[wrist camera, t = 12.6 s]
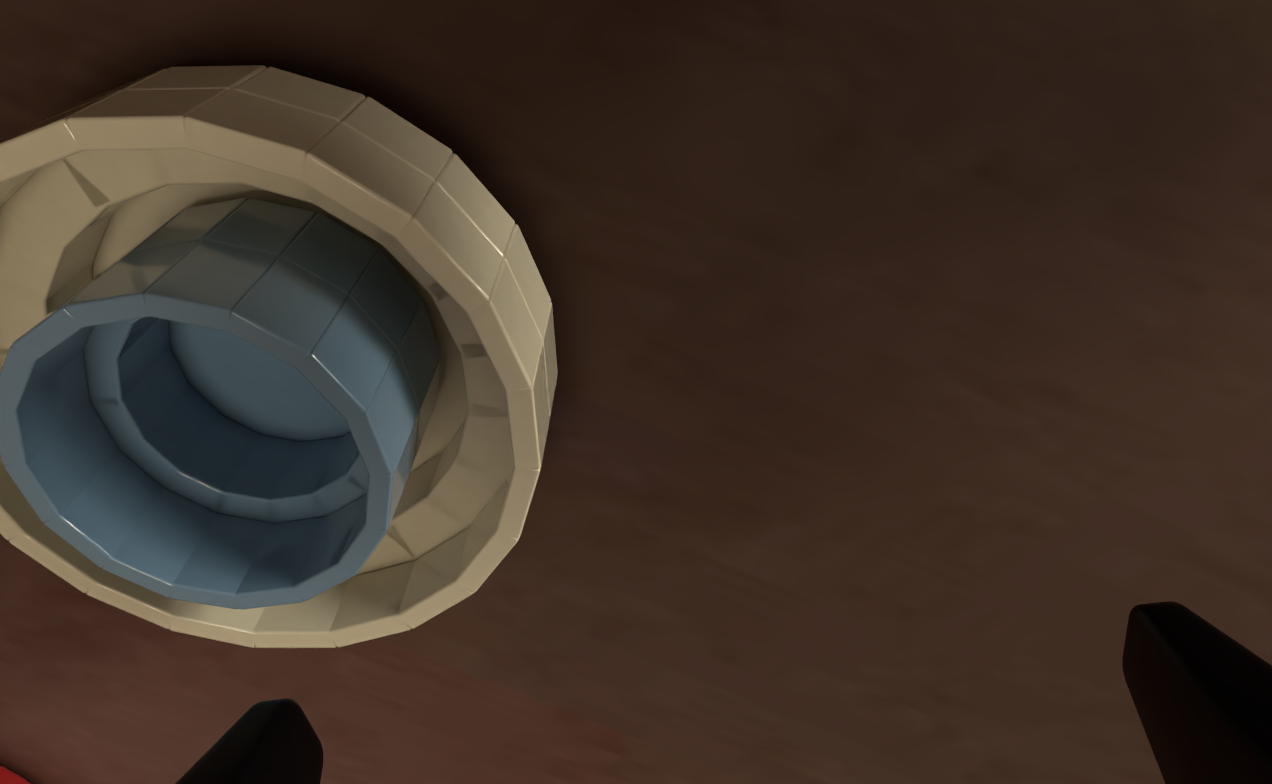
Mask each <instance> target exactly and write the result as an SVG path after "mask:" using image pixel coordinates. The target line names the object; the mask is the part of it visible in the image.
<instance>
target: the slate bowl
mask: <svg viewBox="0 0 1272 784" xmlns="http://www.w3.org/2000/svg"><path fill="white" fill-rule="evenodd" d="M440 364H441V352H440V349H439V346H438V343H437V340H436V337H435V334H434V331H433V328H432V325H431V322H430V319H429V317H428V314H427V311H426V308H425V305H424V302H423V300H422V299H421V297H420V296H419V294H418V293H417V292H416V291H415V290H414V289H413V287H412V286H411V285H410V284H409V283H408V281H407V280H406V279H405V278H404V277H403V276H402V274H401V273H400V272H399V271H398V270H397V268H396V267H395V266H394V265H393V264H392V263H391V261H390V260H389V259H388V258H387V257H386V255H385V254H384V253H383V252H382V251H381V250H380V249H379V250H378V248H377V247H376V246H374V245H373V244H371V243H369V242H368V241H366V240H364V239H363V238H361V237H359V236H358V235H356V234H354V233H353V232H351V231H349V230H348V229H346V228H344V227H342V226H341V225H339V224H337V223H336V222H334V221H332V220H331V219H329V218H327V217H326V216H324V215H322V214H321V213H316V212H315V211H311V210H306V209H301V208H297V207H292V206H287V205H282V204H277V203H272V202H268V201H263V200H258V199H253V198H249V199H246V198H242V199H236V200H230V201H225V202H219V203H213V204H208V205H202V206H196V207H190V208H186V209H183V210H181V211H179V212H178V213H177V214H175V215H174V216H173V217H171V218H170V219H169V220H167V221H166V222H164V223H163V224H162V225H160V226H159V227H158V228H156V229H155V230H154V231H152V232H151V233H150V234H148V235H147V236H146V237H144V238H143V239H142V240H140V241H139V242H138V243H136V244H135V245H134V246H133V247H131V248H130V249H129V250H128V251H126V252H125V253H124V254H123V255H121V256H120V257H119V258H118V259H116V260H115V261H114V262H113V263H111V264H110V265H109V266H108V267H106V268H105V269H104V270H103V271H101V272H100V273H99V274H98V275H97V276H95V277H94V278H93V279H92V280H90V281H89V282H88V283H87V284H85V285H84V286H83V287H82V288H80V289H79V290H78V291H77V292H75V293H74V294H73V295H72V296H70V297H69V298H68V299H67V300H65V301H64V302H63V303H62V304H60V305H59V306H58V307H57V308H55V309H54V310H53V311H52V312H50V313H49V314H48V315H47V316H45V317H44V318H43V319H42V320H40V321H39V322H38V323H37V324H35V325H34V326H33V327H32V328H30V329H29V330H28V331H27V332H25V333H24V334H23V335H22V336H20V337H19V338H18V339H17V340H15V341H14V342H13V343H12V345H11V346H10V348H9V350H8V353H7V356H6V359H5V361H4V364H3V367H2V370H1V372H0V456H1V461H2V464H4V468H5V470H6V471H7V472H8V474H9V475H10V477H11V478H12V480H13V481H14V483H15V484H16V485H17V487H18V488H19V490H20V491H21V493H22V494H23V496H24V497H25V499H26V500H27V501H28V503H29V504H30V506H31V507H32V509H33V510H34V512H35V513H36V514H37V516H38V517H39V519H40V520H41V521H42V522H44V525H46V526H47V527H48V528H50V529H51V530H52V531H53V532H55V533H56V534H57V535H59V536H60V537H61V538H62V539H64V540H65V541H66V542H67V543H69V544H70V545H71V546H73V547H74V548H75V549H76V550H78V551H79V552H80V553H81V554H83V555H84V556H85V557H87V558H88V559H89V560H90V561H92V562H93V563H94V564H95V565H97V566H98V567H100V568H102V569H103V570H105V571H107V572H110V573H112V574H114V575H116V576H119V577H121V578H123V579H126V580H128V581H130V582H132V583H135V584H137V585H139V586H142V587H144V588H146V589H149V590H151V591H153V592H155V593H158V594H160V595H162V596H165V597H167V598H169V597H170V598H171V599H175V600H181V601H188V602H194V603H200V604H206V605H212V606H218V607H224V608H231V609H241V610H243V609H252V608H260V607H268V606H276V605H285V604H293V603H301V602H303V601H307V600H309V599H311V598H313V597H315V596H317V595H319V594H321V593H323V592H325V591H326V590H328V589H330V588H332V587H334V586H336V585H338V584H340V583H342V582H344V581H346V580H348V579H350V578H352V577H353V576H355V574H357V573H358V572H359V571H360V569H361V568H362V566H363V565H364V564H365V562H366V561H367V559H368V558H369V557H370V555H371V554H372V553H373V551H374V550H375V548H376V547H377V546H378V544H379V543H380V541H381V540H382V539H383V537H384V536H385V535H386V533H387V531H388V528H389V526H390V523H391V520H392V518H393V515H394V513H395V510H396V507H397V505H398V502H399V500H400V497H401V494H402V492H403V489H404V486H405V484H406V481H407V479H408V476H409V473H410V471H411V468H412V465H413V463H414V459H415V457H416V455H417V452H418V450H419V447H420V444H421V442H422V439H423V436H424V434H425V431H426V429H427V426H428V423H429V421H430V418H431V416H432V413H433V410H434V408H435V405H436V398H437V390H438V381H439V373H440Z"/></svg>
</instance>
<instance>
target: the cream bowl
mask: <svg viewBox="0 0 1272 784" xmlns="http://www.w3.org/2000/svg"><path fill="white" fill-rule="evenodd" d="M242 198H246V199H249V198H253V199H258V200H263V201H268V202H272V203H277V204H282V205H287V206H292V207H297V208H301V209H306V210H311V211H315V212H316V213H321V214H322V215H324V216H326V217H327V218H329V219H331V220H332V221H334V222H336V223H337V224H339V225H341V226H342V227H344V228H346V229H348V230H349V231H351V232H353V233H354V234H356V235H358V236H359V237H361V238H363V239H364V240H366V241H368V242H369V243H371V244H373V245H374V246H376V247H377V248H378V250H379V249H380V250H381V251H382V252H383V253H384V254H385V255H386V257H387V258H388V259H389V260H390V261H391V263H392V264H393V265H394V266H395V267H396V268H397V270H398V271H399V272H400V273H401V274H402V276H403V277H404V278H405V279H406V280H407V281H408V283H409V284H410V285H411V286H412V287H413V289H414V290H415V291H416V292H417V293H418V294H419V296H420V297H421V299H422V300H423V302H424V305H425V308H426V311H427V314H428V317H429V319H430V322H431V325H432V328H433V331H434V334H435V337H436V340H437V343H438V346H439V349H440V352H441V364H440V373H439V381H438V390H437V398H436V405H435V408H434V410H433V413H432V416H431V418H430V421H429V423H428V426H427V429H426V431H425V434H424V436H423V439H422V442H421V444H420V447H419V450H418V452H417V455H416V457H415V459H414V463H413V465H412V468H411V471H410V473H409V476H408V479H407V481H406V484H405V486H404V489H403V492H402V494H401V497H400V500H399V502H398V505H397V507H396V510H395V513H394V515H393V518H392V520H391V523H390V526H389V528H388V531H387V533H386V535H385V536H384V537H383V539H382V540H381V541H380V543H379V544H378V546H377V547H376V548H375V550H374V551H373V553H372V554H371V555H370V557H369V558H368V559H367V561H366V562H365V564H364V565H363V566H362V568H361V569H360V571H359V572H358V573H357V574H355V576H353V577H352V578H350V579H348V580H346V581H344V582H342V583H340V584H338V585H336V586H334V587H332V588H330V589H328V590H326V591H325V592H323V593H321V594H319V595H317V596H315V597H313V598H311V599H309V600H307V601H303V602H301V603H293V604H285V605H276V606H268V607H260V608H252V609H243V610H241V609H231V608H224V607H218V606H212V605H206V604H200V603H194V602H188V601H181V600H175V599H171V598H170V597H169V598H167V597H165V596H162V595H160V594H158V593H155V592H153V591H151V590H149V589H146V588H144V587H142V586H139V585H137V584H135V583H132V582H130V581H128V580H126V579H123V578H121V577H119V576H116V575H114V574H112V573H110V572H107V571H105V570H103V569H102V568H100V567H98V566H97V565H95V564H94V563H93V562H92V561H90V560H89V559H88V558H87V557H85V556H84V555H83V554H81V553H80V552H79V551H78V550H76V549H75V548H74V547H73V546H71V545H70V544H69V543H67V542H66V541H65V540H64V539H62V538H61V537H60V536H59V535H57V534H56V533H55V532H53V531H52V530H51V529H50V528H48V527H47V526H46V525H44V522H42V521H41V520H40V519H39V517H38V516H37V514H36V513H35V512H34V510H33V509H32V507H31V506H30V504H29V503H28V501H27V500H26V499H25V497H24V496H23V494H22V493H21V491H20V490H19V488H18V487H17V485H16V484H15V483H14V481H13V480H12V478H11V477H10V475H9V474H8V472H7V471H6V470H5V468H4V464H2V461H1V456H0V534H1V535H2V536H3V537H4V538H5V539H6V540H9V542H10V543H11V544H12V545H13V546H15V547H16V548H18V549H19V550H21V551H22V552H24V553H25V554H27V555H28V556H30V557H31V558H33V559H34V560H35V561H37V562H38V563H40V564H41V565H43V566H44V567H46V568H47V569H49V570H50V571H52V572H53V573H55V574H56V575H57V576H59V577H60V578H62V579H63V580H65V581H66V582H68V583H69V584H71V585H72V586H74V587H75V588H77V589H78V590H80V591H81V592H83V593H86V594H87V595H88V596H90V597H93V598H95V599H97V600H100V601H102V602H104V603H107V604H109V605H112V606H114V607H116V608H119V609H121V610H123V611H126V612H128V613H130V614H133V615H135V616H137V617H140V618H142V619H144V620H147V621H149V622H152V623H154V624H156V625H159V626H161V627H163V628H166V629H169V628H170V630H171V631H175V632H180V633H184V634H189V635H194V636H199V637H203V638H208V639H213V640H218V641H222V642H227V643H232V644H237V645H241V646H246V647H251V648H254V647H256V648H336V647H343V646H347V645H351V644H355V643H359V642H363V641H368V640H372V639H376V638H380V637H384V636H388V635H392V634H396V633H400V632H404V631H409V630H410V629H414V628H415V627H417V626H419V625H421V624H422V623H424V622H426V621H427V620H429V619H431V618H433V617H434V616H436V615H438V614H439V613H441V612H443V611H445V610H446V609H448V608H450V607H452V606H453V605H455V604H457V603H458V602H460V601H462V600H464V599H465V598H467V597H469V596H470V595H472V594H473V593H475V592H476V591H477V590H478V588H479V587H480V586H481V585H482V584H483V582H484V581H485V580H486V579H487V578H488V576H489V575H490V574H491V573H492V572H493V570H494V569H495V568H496V567H497V566H498V564H499V563H500V562H501V561H502V560H503V558H504V557H505V556H506V555H507V554H508V552H509V551H510V550H511V549H512V548H513V546H514V545H515V544H516V543H517V542H518V540H519V537H520V536H521V533H522V530H523V527H524V523H525V520H526V517H527V513H528V510H529V507H530V504H531V500H532V497H533V494H534V491H535V487H536V484H537V481H538V478H539V474H540V471H541V465H542V460H543V454H544V449H545V443H546V438H547V432H548V427H549V420H550V415H551V410H552V404H553V399H554V393H555V388H556V382H557V375H558V372H557V360H556V347H555V335H554V322H553V310H552V303H551V298H550V296H549V294H548V292H547V289H546V287H545V285H544V283H543V280H542V278H541V276H540V273H539V271H538V269H537V267H536V264H535V262H534V260H533V258H532V255H531V253H530V251H529V249H528V246H527V244H526V242H525V240H524V237H523V235H522V233H521V230H520V228H519V226H518V225H517V224H515V221H514V220H513V219H512V218H511V216H510V215H509V214H508V213H507V212H506V211H505V210H504V208H503V207H502V206H501V205H500V204H499V203H498V202H497V200H496V199H495V198H494V197H493V196H492V195H491V194H490V192H489V191H488V190H487V189H486V188H485V187H484V186H483V184H482V183H481V182H480V181H479V180H478V179H477V178H476V176H475V175H474V174H473V173H472V172H471V171H470V169H469V168H468V167H467V166H466V165H465V164H464V163H463V161H462V160H461V159H460V158H459V157H458V156H457V155H456V154H452V150H451V149H450V148H448V147H447V146H445V145H443V144H442V143H440V142H439V141H437V140H436V139H434V138H433V137H431V136H430V135H428V134H426V133H425V132H423V131H422V130H420V129H419V128H417V127H416V126H414V125H412V124H411V123H409V122H408V121H406V120H405V119H403V118H402V117H400V116H399V115H397V114H395V113H394V112H392V111H391V110H389V109H388V108H386V107H385V106H383V105H382V104H380V103H378V102H377V101H375V100H374V99H372V98H371V97H366V98H365V96H364V95H363V94H360V93H357V92H354V91H350V90H347V89H344V88H340V87H337V86H334V85H330V84H327V83H324V82H320V81H317V80H314V79H310V78H307V77H304V76H300V75H297V74H294V73H290V72H287V71H284V70H280V69H277V68H274V67H266V66H263V65H247V66H193V67H171V68H169V69H161V70H159V71H156V72H154V73H151V74H149V75H146V76H144V77H141V78H139V79H136V80H134V81H131V82H129V83H126V84H124V85H121V86H119V87H116V88H114V89H111V90H109V91H106V92H104V93H101V94H99V95H96V96H94V97H91V98H89V99H87V100H85V101H83V102H81V103H78V104H76V105H74V106H72V107H70V108H68V109H66V110H64V111H62V112H60V113H58V114H56V115H53V116H51V117H49V118H47V119H45V120H43V121H41V122H39V123H37V124H35V125H32V126H30V127H28V128H26V129H24V130H22V131H20V132H18V133H16V134H14V135H12V136H10V137H7V138H5V139H3V140H1V141H0V372H1V370H2V367H3V364H4V361H5V359H6V356H7V353H8V350H9V348H10V346H11V345H12V343H13V342H14V341H15V340H17V339H18V338H19V337H20V336H22V335H23V334H24V333H25V332H27V331H28V330H29V329H30V328H32V327H33V326H34V325H35V324H37V323H38V322H39V321H40V320H42V319H43V318H44V317H45V316H47V315H48V314H49V313H50V312H52V311H53V310H54V309H55V308H57V307H58V306H59V305H60V304H62V303H63V302H64V301H65V300H67V299H68V298H69V297H70V296H72V295H73V294H74V293H75V292H77V291H78V290H79V289H80V288H82V287H83V286H84V285H85V284H87V283H88V282H89V281H90V280H92V279H93V278H94V277H95V276H97V275H98V274H99V273H100V272H101V271H103V270H104V269H105V268H106V267H108V266H109V265H110V264H111V263H113V262H114V261H115V260H116V259H118V258H119V257H120V256H121V255H123V254H124V253H125V252H126V251H128V250H129V249H130V248H131V247H133V246H134V245H135V244H136V243H138V242H139V241H140V240H142V239H143V238H144V237H146V236H147V235H148V234H150V233H151V232H152V231H154V230H155V229H156V228H158V227H159V226H160V225H162V224H163V223H164V222H166V221H167V220H169V219H170V218H171V217H173V216H174V215H175V214H177V213H178V212H179V211H181V210H183V209H186V208H190V207H196V206H202V205H208V204H213V203H219V202H225V201H230V200H236V199H242Z"/></svg>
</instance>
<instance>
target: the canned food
mask: <svg viewBox="0 0 1272 784" xmlns="http://www.w3.org/2000/svg"><path fill="white" fill-rule="evenodd" d="M0 784H31V783H29V782H28V781H27V780H25V779H24V778H22V777H21V776H19V775H17V774H15V773H14V772H12V771H10V770H8V769H6V768H5V767H2V766H0Z"/></svg>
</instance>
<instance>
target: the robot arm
mask: <svg viewBox="0 0 1272 784" xmlns="http://www.w3.org/2000/svg"><path fill="white" fill-rule="evenodd" d="M1122 662H1123V672H1124V676H1125V680H1126V683H1127V686H1128V688H1129V691H1130V694H1131V696H1132V699H1133V701H1134V704H1135V706H1136V709H1137V712H1138V714H1139V717H1140V719H1141V722H1142V724H1143V727H1144V730H1145V732H1146V735H1147V737H1148V740H1149V743H1150V745H1151V748H1152V750H1153V753H1154V755H1155V758H1156V761H1157V763H1158V766H1159V768H1160V771H1161V773H1162V776H1163V779H1164V781H1165V784H1272V665H1270V664H1269V663H1267V662H1266V661H1264V660H1263V659H1261V658H1260V657H1258V656H1257V655H1255V654H1254V653H1252V652H1251V651H1250V650H1248V649H1247V648H1245V647H1244V646H1242V645H1241V644H1239V643H1238V642H1236V641H1235V640H1233V639H1232V638H1230V637H1229V636H1228V635H1226V634H1225V633H1223V632H1222V631H1220V630H1219V629H1217V628H1216V627H1214V626H1213V625H1211V624H1210V623H1208V622H1207V621H1205V620H1204V619H1203V618H1201V617H1200V616H1198V615H1197V614H1195V613H1194V612H1192V611H1191V610H1189V609H1188V608H1186V607H1185V606H1183V605H1181V604H1179V603H1176V602H1159V603H1150V604H1141V605H1137V606H1135V607H1134V608H1133V609H1132V610H1131V612H1130V615H1129V620H1128V626H1127V633H1126V639H1125V646H1124V652H1123V661H1122ZM322 768H323V749H322V746H321V743H320V740H319V738H318V737H317V735H316V733H315V731H314V730H313V728H312V726H311V725H310V723H309V721H308V719H307V718H306V716H305V714H304V712H303V711H302V709H301V707H300V705H299V704H298V703H297V702H296V701H294V700H292V699H279V700H270V701H262V702H259V703H257V704H255V705H254V706H252V707H251V708H250V709H249V710H248V711H247V712H246V713H245V714H244V715H243V716H242V717H241V718H240V719H239V720H238V721H237V722H236V723H235V724H234V725H233V726H232V727H231V728H230V729H229V730H228V731H227V732H226V733H225V734H224V735H223V736H222V737H221V738H220V739H219V740H218V741H217V742H216V743H215V744H214V745H213V746H212V747H211V748H210V749H209V750H208V751H207V752H206V753H205V754H204V755H203V756H202V757H201V758H200V759H199V760H198V761H197V762H196V763H195V764H194V765H193V767H192V768H191V769H190V770H189V771H188V772H187V773H186V774H185V775H184V776H183V777H182V778H181V779H180V780H179V781H178V782H177V783H176V784H320V780H321V774H322Z"/></svg>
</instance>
